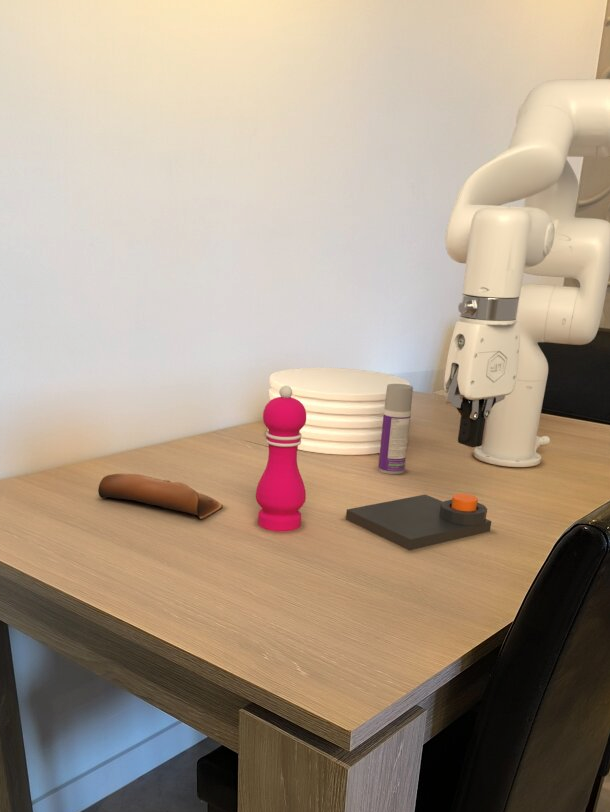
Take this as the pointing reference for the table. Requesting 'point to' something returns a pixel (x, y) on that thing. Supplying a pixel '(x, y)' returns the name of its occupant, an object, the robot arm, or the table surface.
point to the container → (395, 428)
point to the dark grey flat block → (419, 521)
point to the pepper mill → (282, 465)
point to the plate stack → (338, 407)
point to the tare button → (464, 502)
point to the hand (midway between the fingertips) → (469, 444)
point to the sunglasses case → (158, 493)
